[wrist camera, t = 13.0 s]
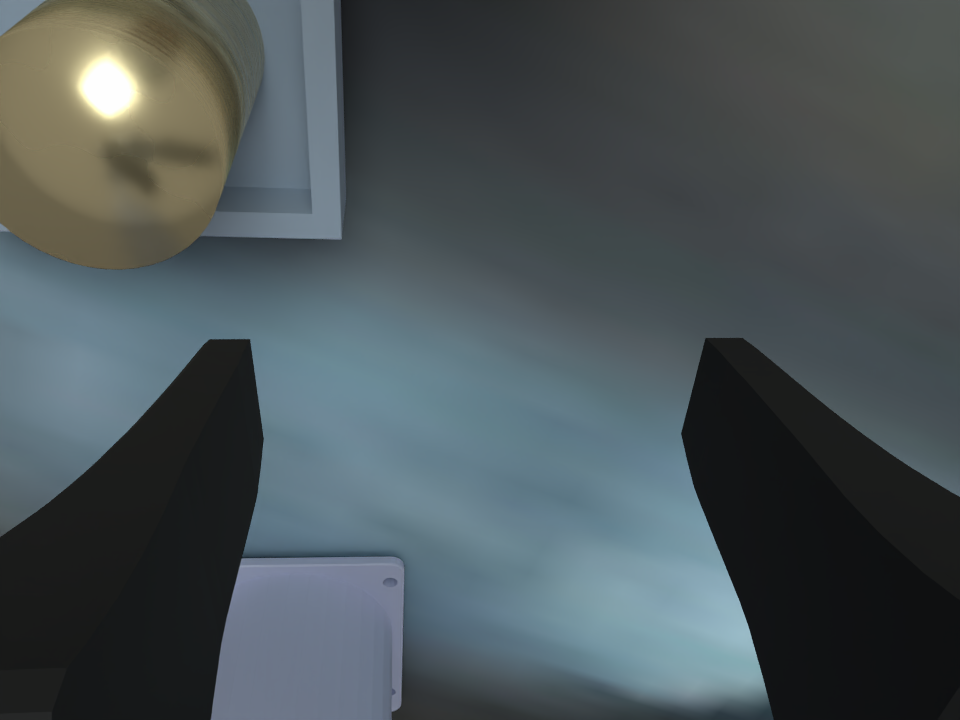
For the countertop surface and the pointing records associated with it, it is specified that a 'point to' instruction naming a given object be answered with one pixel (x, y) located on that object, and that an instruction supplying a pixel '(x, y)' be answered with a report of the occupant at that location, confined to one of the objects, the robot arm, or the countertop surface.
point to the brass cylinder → (123, 123)
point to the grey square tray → (281, 127)
